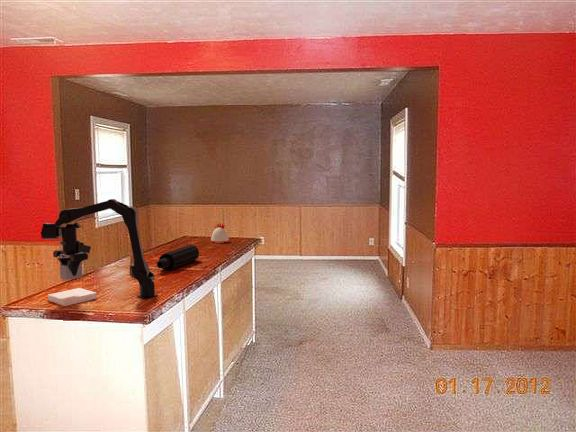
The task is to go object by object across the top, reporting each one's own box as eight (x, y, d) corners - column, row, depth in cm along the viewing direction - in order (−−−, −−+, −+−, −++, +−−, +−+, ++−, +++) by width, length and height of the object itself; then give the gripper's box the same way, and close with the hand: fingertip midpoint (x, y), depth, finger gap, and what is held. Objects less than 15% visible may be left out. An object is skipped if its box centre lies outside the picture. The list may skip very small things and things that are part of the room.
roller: (170, 271, 240) (164, 253, 240) (154, 275, 243) (149, 258, 243) (201, 258, 277) (197, 242, 276) (188, 262, 279) (183, 247, 279)
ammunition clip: (140, 270, 249) (139, 249, 248) (143, 270, 249) (142, 249, 248) (129, 275, 239) (128, 252, 237) (133, 275, 238) (132, 252, 237)
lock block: (82, 276, 193) (81, 263, 192) (66, 280, 187) (65, 265, 187) (76, 275, 196) (75, 261, 195) (60, 278, 190) (59, 264, 190)
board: (96, 298, 194) (96, 292, 194) (64, 306, 183) (64, 300, 183) (80, 293, 202) (79, 287, 202) (48, 300, 191) (47, 294, 191)
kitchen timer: (225, 243, 342) (225, 224, 341) (208, 243, 345) (208, 223, 343) (231, 241, 356) (230, 222, 355) (214, 240, 359) (214, 222, 357)
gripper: (99, 238, 191) (101, 274, 192) (76, 234, 202) (78, 268, 204) (73, 241, 182) (75, 279, 183) (51, 237, 193) (53, 273, 195)
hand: (71, 274), depth 192 cm, fingers closed on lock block, 5 cm apart
